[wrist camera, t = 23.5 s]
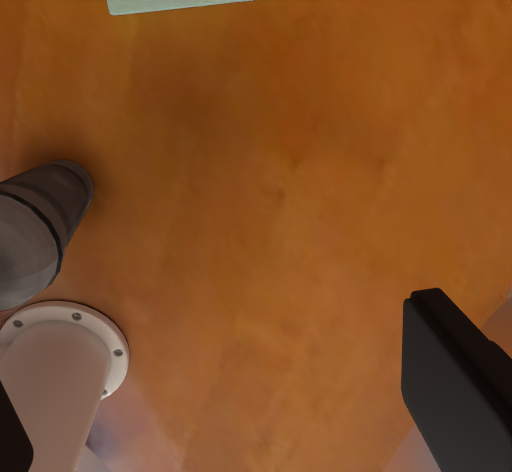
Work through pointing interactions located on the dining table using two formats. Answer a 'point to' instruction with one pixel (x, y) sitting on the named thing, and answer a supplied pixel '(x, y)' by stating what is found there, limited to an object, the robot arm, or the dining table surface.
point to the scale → (158, 5)
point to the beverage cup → (38, 226)
